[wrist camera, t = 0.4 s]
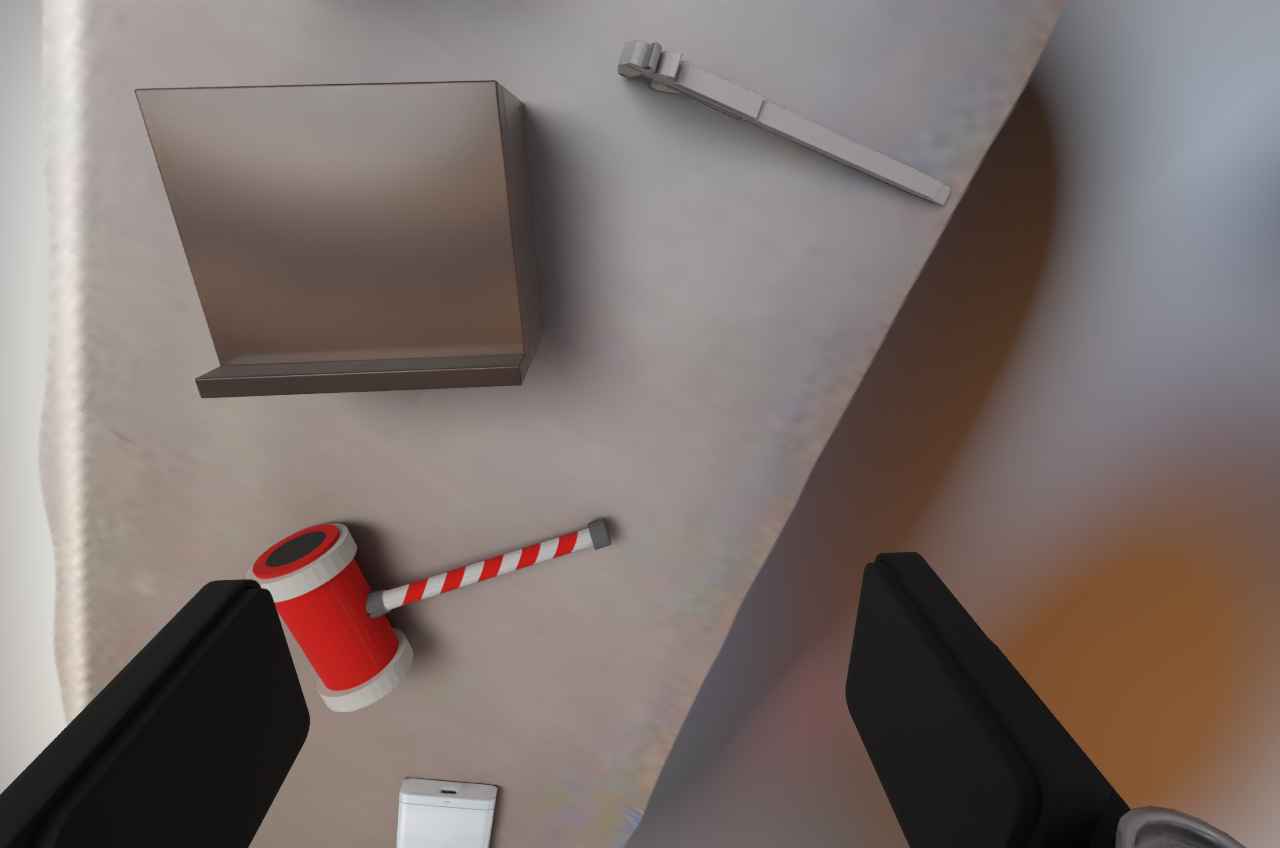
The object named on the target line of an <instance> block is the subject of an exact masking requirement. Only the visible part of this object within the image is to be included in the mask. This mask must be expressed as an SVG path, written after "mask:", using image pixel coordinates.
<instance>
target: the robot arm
mask: <svg viewBox="0 0 1280 848" xmlns="http://www.w3.org/2000/svg"><path fill="white" fill-rule="evenodd" d="M845 691H846V701H847V705H848V709H849V712H850V714H851V716H852V718H853V721H854V723H855V725H856V728H857V730H858V732H859V734H860V737H861V739H862V741H863V743H864V746H865V748H866V750H867V752H868V755H869V757H870V759H871V761H872V763H873V766H874V768H875V770H876V773H877V775H878V777H879V779H880V781H881V783H882V786H883V788H884V790H885V792H886V795H887V797H888V799H889V801H890V804H891V806H892V808H893V811H894V813H895V815H896V817H897V819H898V822H899V824H900V826H901V828H902V831H903V833H904V835H905V838H906V840H907V842H908V844H909V846H910V848H1246V847H1244V846H1243V845H1242V844H1240V843H1239V842H1238V841H1236V840H1235V839H1234V838H1232V837H1231V836H1229V835H1228V834H1227V833H1225V832H1223V831H1221V830H1219V829H1217V828H1216V827H1213V826H1212V825H1210V824H1208V823H1206V822H1205V821H1203V820H1201V819H1199V818H1196V817H1193V816H1190V815H1188V814H1185V813H1182V812H1179V811H1177V810H1174V809H1168V808H1161V807H1154V806H1147V807H1141V808H1134V809H1132V810H1131V809H1130V808H1129V807H1128V805H1127V804H1126V803H1125V802H1124V800H1123V799H1122V798H1121V797H1120V796H1119V794H1118V793H1117V792H1116V791H1115V789H1114V788H1113V787H1112V786H1111V785H1110V783H1109V782H1108V781H1107V780H1106V778H1105V777H1104V776H1103V775H1102V774H1101V772H1100V771H1099V770H1098V769H1097V768H1096V766H1095V765H1094V764H1093V763H1092V761H1091V760H1090V759H1089V758H1088V757H1087V755H1086V754H1085V753H1084V752H1083V750H1082V749H1081V748H1080V747H1079V746H1078V744H1077V743H1076V742H1075V741H1074V740H1073V738H1072V737H1071V736H1070V735H1069V733H1068V732H1067V731H1066V730H1065V728H1064V727H1063V726H1062V725H1061V724H1060V722H1059V721H1058V720H1057V719H1056V717H1054V715H1053V714H1052V713H1051V711H1050V710H1049V709H1048V708H1047V707H1046V705H1045V704H1044V703H1043V702H1042V700H1041V699H1040V698H1039V697H1038V695H1037V694H1036V693H1035V692H1034V691H1033V689H1032V688H1031V687H1030V686H1029V684H1028V683H1027V682H1026V681H1025V680H1024V678H1023V677H1022V676H1021V675H1020V674H1019V672H1018V671H1017V670H1016V669H1015V667H1014V666H1013V665H1012V664H1011V663H1010V661H1009V660H1008V659H1007V658H1006V656H1005V655H1004V654H1003V653H1002V652H1001V650H1000V649H999V648H998V647H997V646H996V645H995V644H994V643H993V642H992V641H991V640H990V639H989V638H988V637H987V636H986V635H985V633H984V632H983V631H982V630H981V628H980V627H979V626H978V625H977V624H976V622H975V621H974V620H973V619H972V617H971V616H970V615H969V614H968V612H967V611H966V610H965V609H964V608H963V606H962V605H961V604H960V603H959V601H958V600H957V599H956V598H955V597H954V595H953V594H952V593H951V592H950V590H949V589H948V588H947V587H946V586H945V584H944V583H943V582H942V581H941V579H940V578H939V577H938V576H937V575H936V573H935V572H934V571H933V570H932V568H931V567H930V566H929V565H928V563H927V562H926V561H925V560H924V558H923V557H922V556H921V555H920V554H918V553H916V552H901V553H900V552H899V553H881V554H878V555H877V557H876V559H875V562H874V563H868V564H867V565H866V567H865V570H864V575H863V582H862V588H861V594H860V601H859V606H858V613H857V619H856V625H855V631H854V638H853V644H852V650H851V657H850V663H849V670H848V676H847V682H846V690H845ZM309 726H310V716H309V711H308V708H307V705H306V702H305V699H304V695H303V692H302V689H301V686H300V683H299V679H298V676H297V673H296V670H295V667H294V664H293V660H292V657H291V654H290V651H289V648H288V645H287V641H286V638H285V635H284V632H283V629H282V625H281V622H280V619H279V616H278V613H277V610H276V606H275V603H274V600H273V597H272V595H271V592H270V591H269V590H268V589H265V588H261V586H260V584H259V583H258V582H257V581H256V580H252V579H243V580H219V581H212V582H209V583H208V584H206V585H205V586H204V587H203V588H202V589H201V590H200V591H199V592H198V593H197V594H196V595H195V596H194V597H193V598H192V599H191V600H190V601H189V602H188V603H187V604H186V605H185V606H184V607H183V608H182V609H181V610H180V611H179V612H178V613H177V614H176V615H175V616H174V617H173V618H172V619H171V620H170V621H169V623H168V624H167V625H166V626H165V627H164V628H163V629H162V630H161V631H160V632H159V633H158V634H157V635H156V636H155V637H154V638H153V639H152V640H151V641H150V642H149V643H148V644H147V645H146V646H145V647H144V648H143V649H142V650H141V651H140V652H139V653H138V654H137V655H136V656H135V657H134V658H133V659H132V660H131V661H130V662H129V663H128V664H127V666H126V667H125V668H124V669H123V670H122V671H121V672H120V673H119V674H118V675H117V676H116V677H115V678H114V679H113V680H112V681H111V682H110V683H109V684H108V685H107V686H106V687H105V688H104V689H103V690H102V691H101V692H100V693H99V694H98V695H97V696H96V697H95V698H94V699H93V700H92V701H91V702H90V703H89V704H88V705H87V706H86V707H85V709H84V710H83V711H82V712H81V713H80V714H79V715H78V716H77V717H76V718H75V719H74V720H73V721H72V722H71V723H70V724H69V725H68V726H67V727H66V728H65V729H64V730H63V731H62V732H61V733H60V734H59V735H58V736H57V737H56V738H55V739H54V740H53V741H52V742H51V743H50V744H49V745H48V747H46V748H45V749H44V750H43V752H42V753H41V754H40V755H39V756H38V757H37V758H36V759H35V760H34V761H33V762H32V763H31V764H30V765H29V766H28V767H27V768H26V769H25V770H24V771H23V772H22V773H21V774H20V775H19V776H18V777H17V778H16V779H15V780H14V781H13V782H12V784H10V786H8V787H7V789H6V790H4V791H3V793H2V794H1V795H0V848H248V847H249V845H250V843H251V842H252V840H253V838H254V836H255V834H256V832H257V830H258V828H259V827H260V825H261V823H262V821H263V819H264V817H265V815H266V813H267V812H268V810H269V808H270V806H271V804H272V802H273V800H274V798H275V797H276V795H277V793H278V791H279V789H280V787H281V785H282V783H283V782H284V780H285V778H286V776H287V774H288V772H289V770H290V768H291V766H292V765H293V763H294V761H295V759H296V757H297V755H298V753H299V751H300V750H301V748H302V746H303V744H304V742H305V740H306V738H307V735H308V731H309Z"/></svg>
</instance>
